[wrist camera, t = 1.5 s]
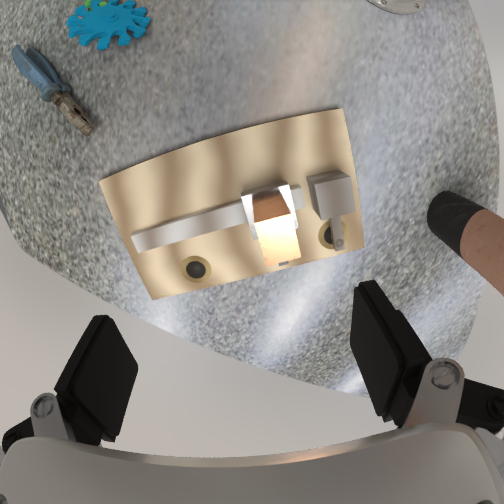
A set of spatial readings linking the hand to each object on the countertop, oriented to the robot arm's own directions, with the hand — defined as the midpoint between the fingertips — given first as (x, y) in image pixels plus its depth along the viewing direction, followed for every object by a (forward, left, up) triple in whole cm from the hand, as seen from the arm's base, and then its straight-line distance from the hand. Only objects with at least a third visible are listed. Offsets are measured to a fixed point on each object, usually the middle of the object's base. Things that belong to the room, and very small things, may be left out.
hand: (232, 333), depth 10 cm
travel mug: (-29, +11, -25) cm, 40 cm away
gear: (+9, -25, -25) cm, 37 cm away
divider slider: (-3, +5, -23) cm, 24 cm away
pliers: (+18, -21, -25) cm, 38 cm away
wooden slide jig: (+1, +3, -25) cm, 25 cm away
